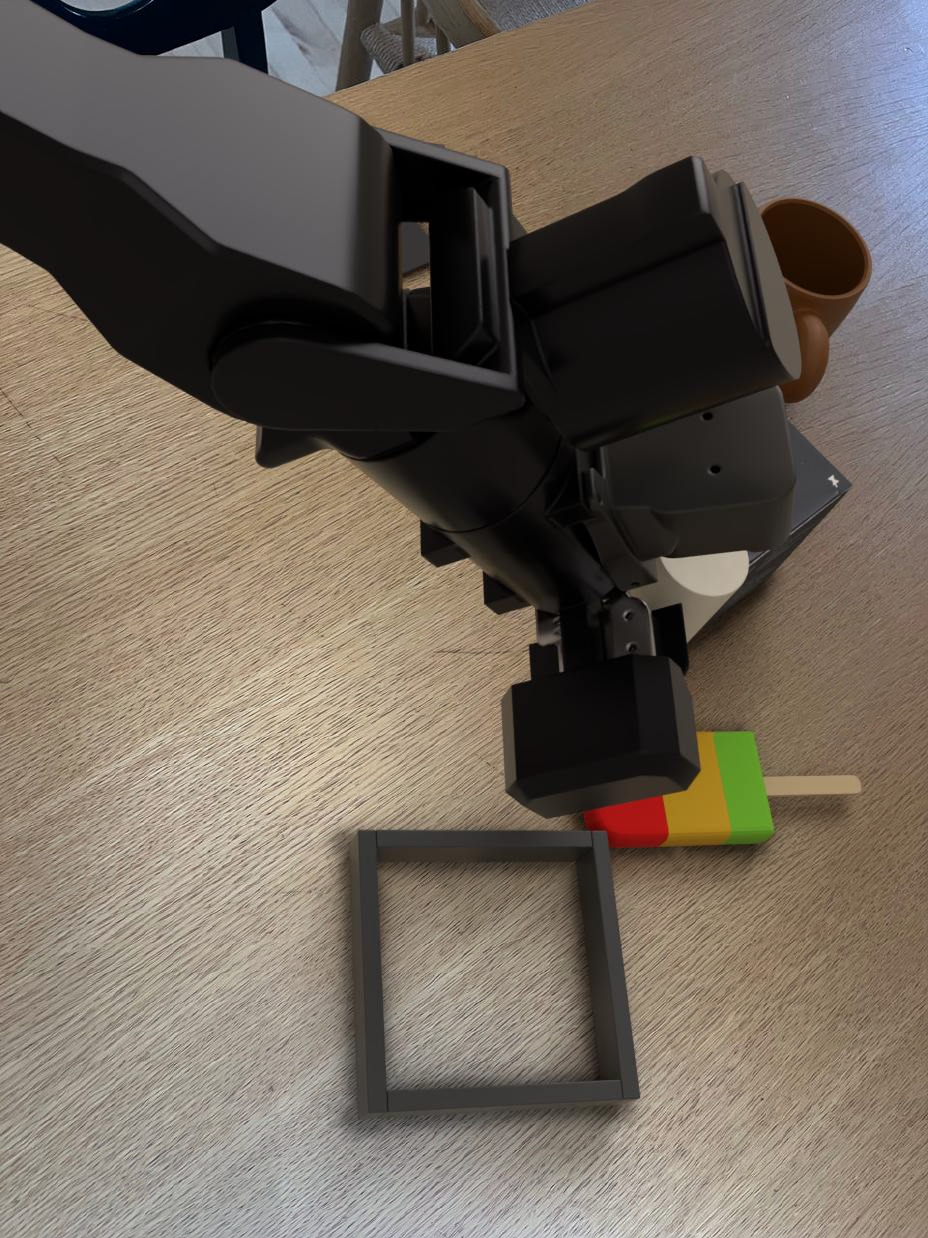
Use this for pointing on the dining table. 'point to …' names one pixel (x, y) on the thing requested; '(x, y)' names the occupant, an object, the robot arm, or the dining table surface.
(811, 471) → the box
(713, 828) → the popsicle
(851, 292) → the mug
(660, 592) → the white tall round cylinder
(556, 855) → the grey picture frame
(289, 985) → the dining table surface
